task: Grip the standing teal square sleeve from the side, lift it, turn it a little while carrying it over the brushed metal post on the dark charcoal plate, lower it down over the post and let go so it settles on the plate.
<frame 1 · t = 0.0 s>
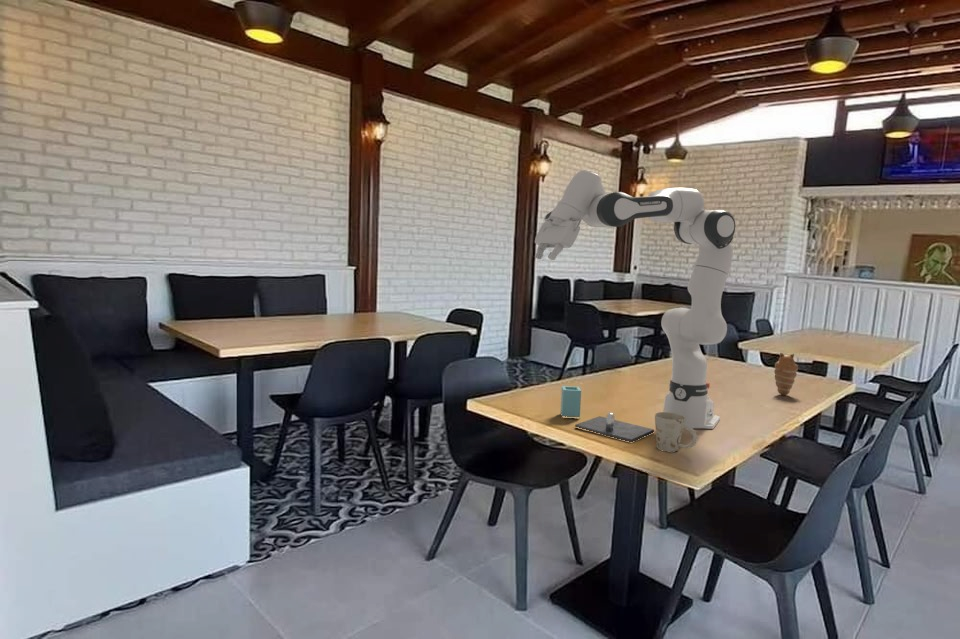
hand: (543, 258, 175), 54 cm above the table, tool tilted 30°, fingers open, 8 cm apart
mug: (674, 451, 170), on the table
plate: (614, 430, 187), on the table
sleeve: (569, 416, 202), on the table
cat ice cream: (783, 395, 246), on the table
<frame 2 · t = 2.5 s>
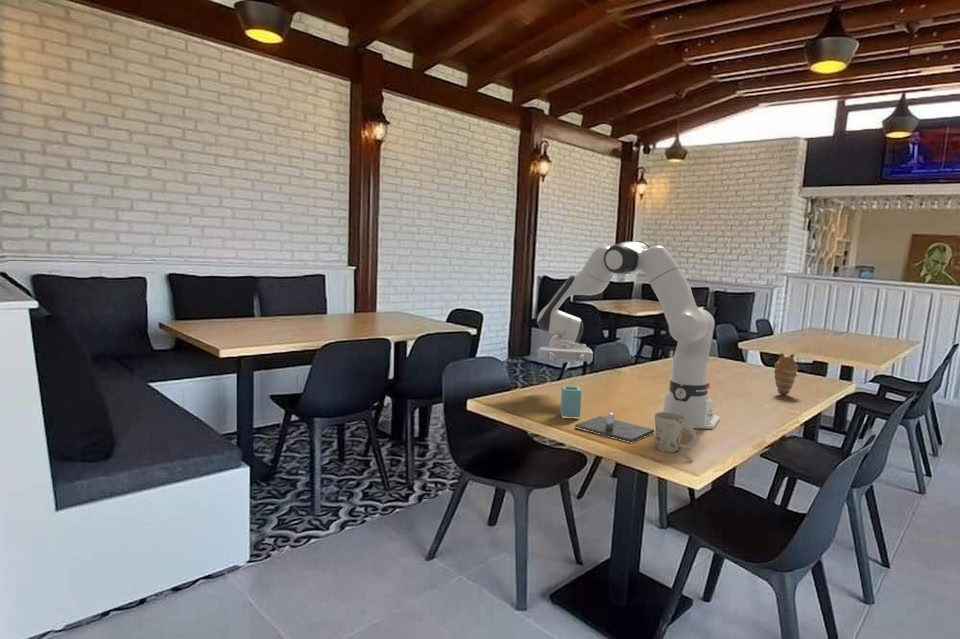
hand: (567, 358, 212), 18 cm above the table, tool horizontal, fingers open, 8 cm apart
nothing on the table moved.
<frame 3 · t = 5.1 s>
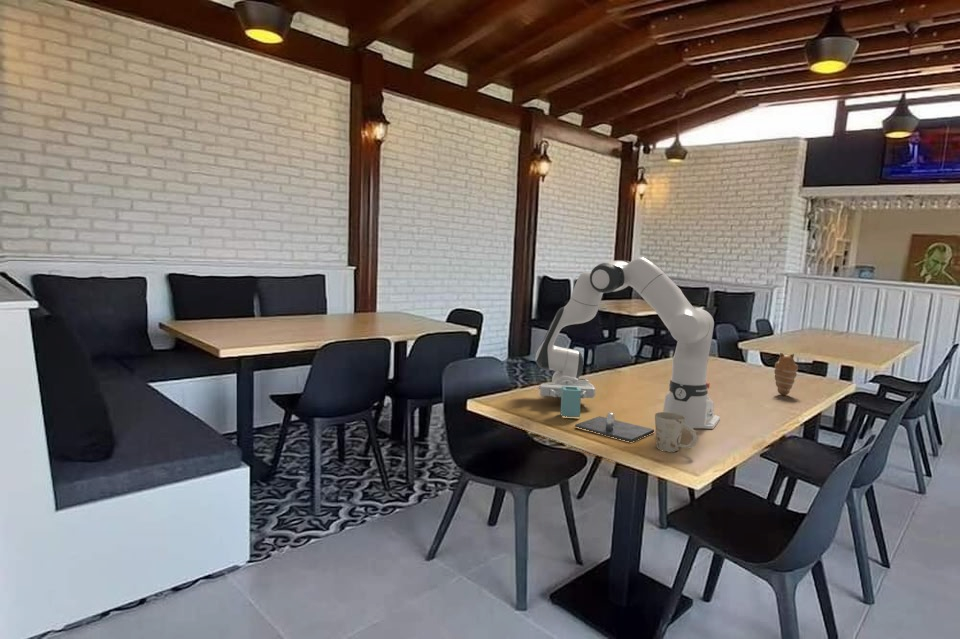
hand: (569, 395, 208), 6 cm above the table, tool horizontal, fingers open, 8 cm apart
nothing on the table moved.
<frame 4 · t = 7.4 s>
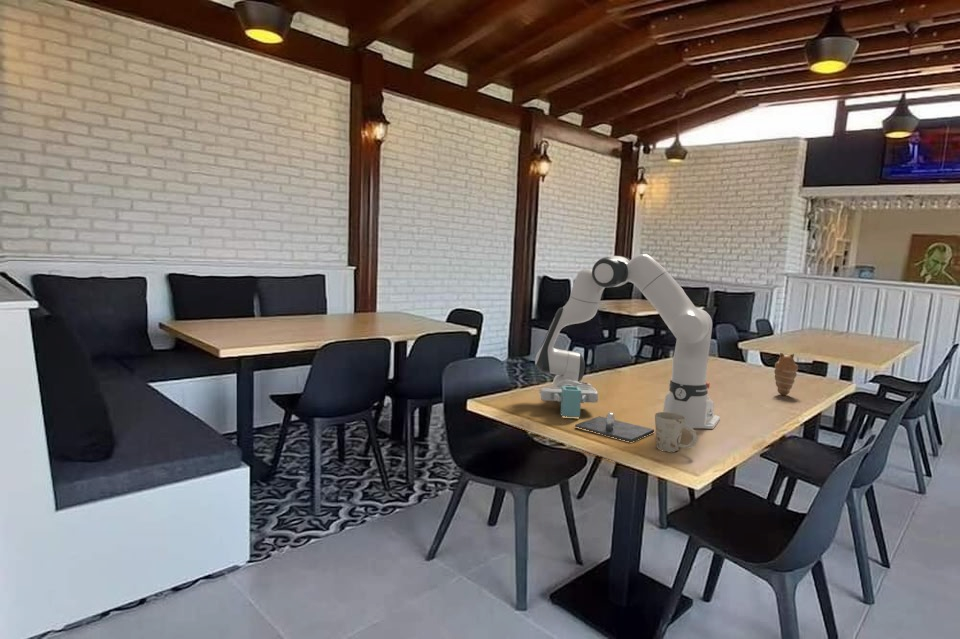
hand: (571, 400, 201), 6 cm above the table, tool horizontal, fingers closed on sleeve, 6 cm apart
sleeve: (569, 416, 202), on the table, touching gripper
everything else where it was.
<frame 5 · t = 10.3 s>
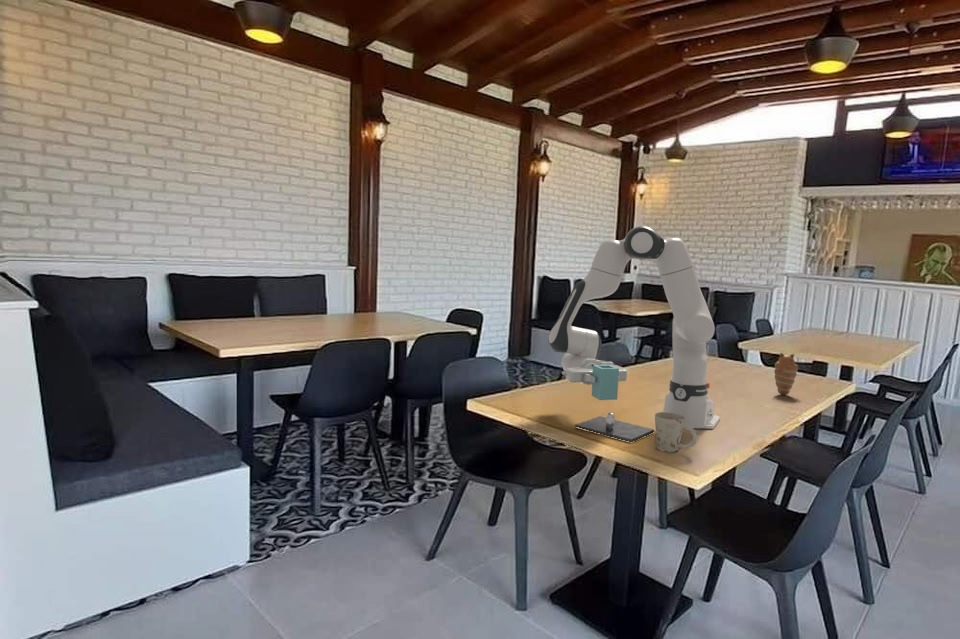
hand: (606, 379, 185), 17 cm above the table, tool horizontal, fingers closed on sleeve, 6 cm apart
sleeve: (604, 397, 186), point 11 cm above the table, touching gripper
everything else where it was.
when the fingers open (9 cm above the table, at t = 13.3 s): sleeve drops 2 cm, resting on plate.
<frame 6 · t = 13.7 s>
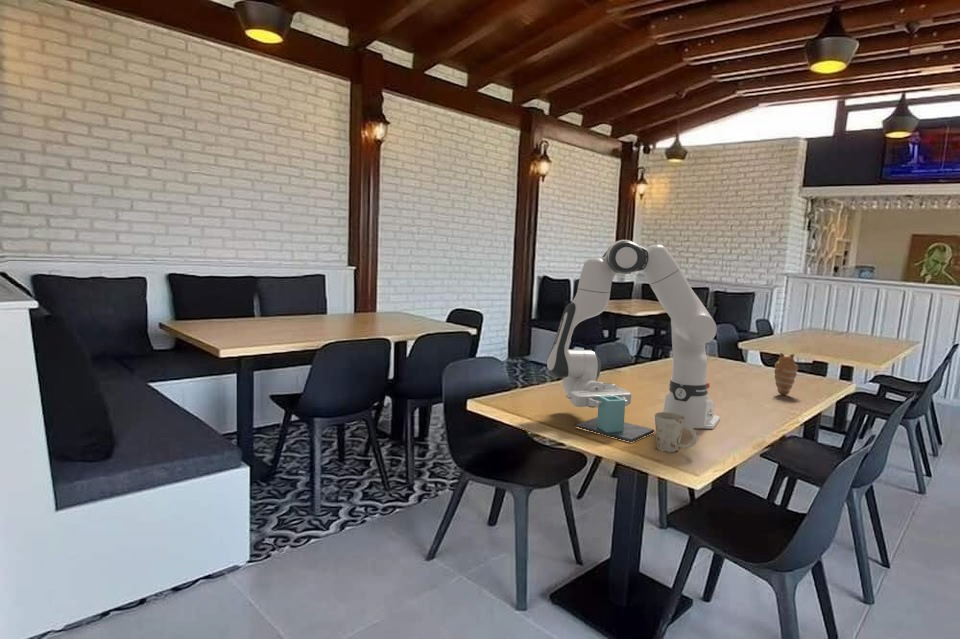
hand: (612, 404, 183), 9 cm above the table, tool horizontal, fingers open, 8 cm apart
sleeve: (610, 428, 185), point 1 cm above the table, touching plate
everything else where it was.
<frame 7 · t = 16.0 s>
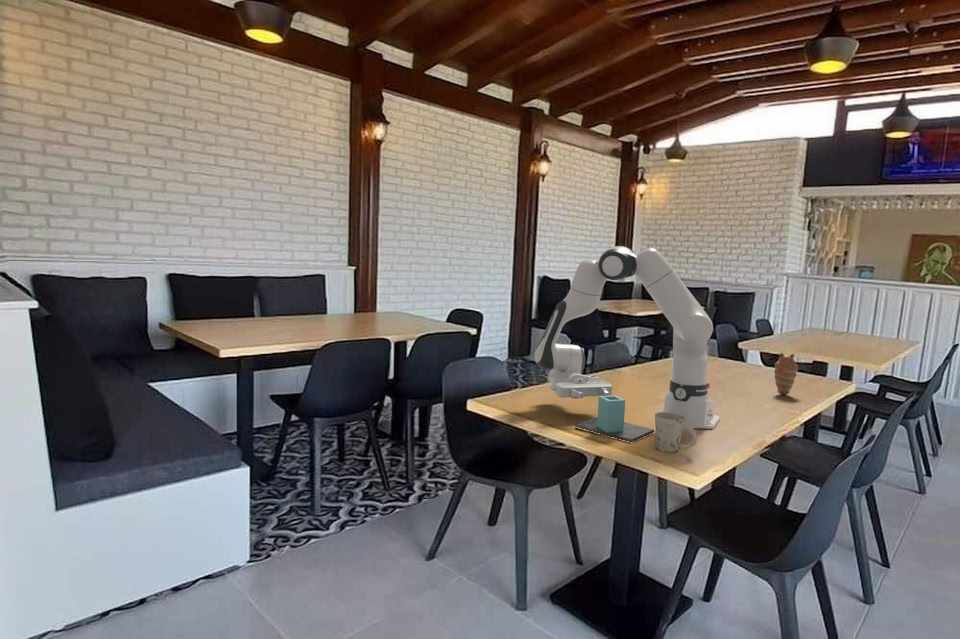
hand: (594, 395, 195), 10 cm above the table, tool horizontal, fingers open, 8 cm apart
nothing on the table moved.
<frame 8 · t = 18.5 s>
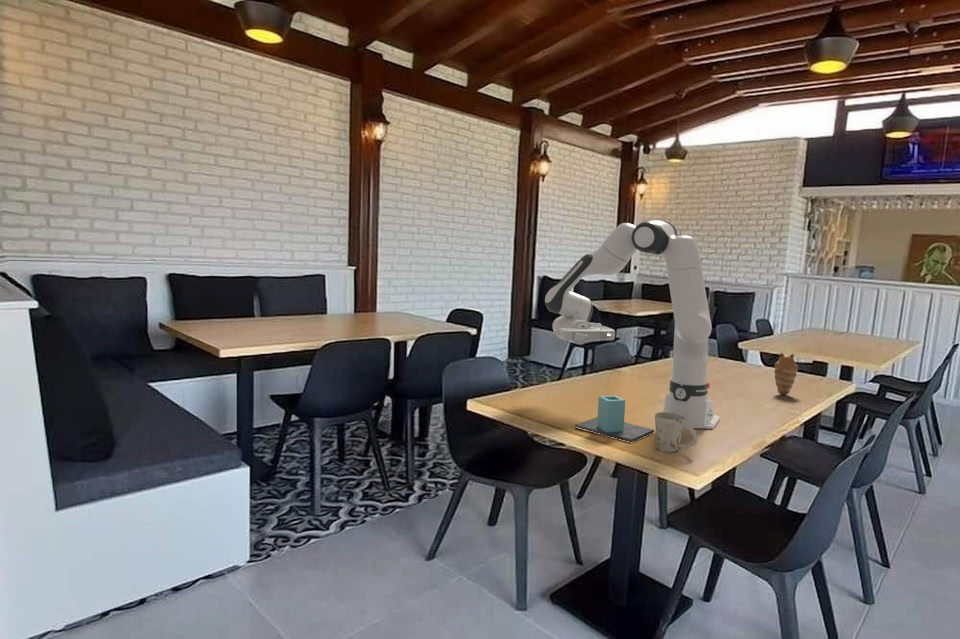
hand: (597, 337, 199), 28 cm above the table, tool horizontal, fingers open, 8 cm apart
nothing on the table moved.
at the end: sleeve 0.1 cm from the target spot on the plate, point 1.2 cm above the plate's base; sleeve tilted 0°; the gripper is holding nothing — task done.
